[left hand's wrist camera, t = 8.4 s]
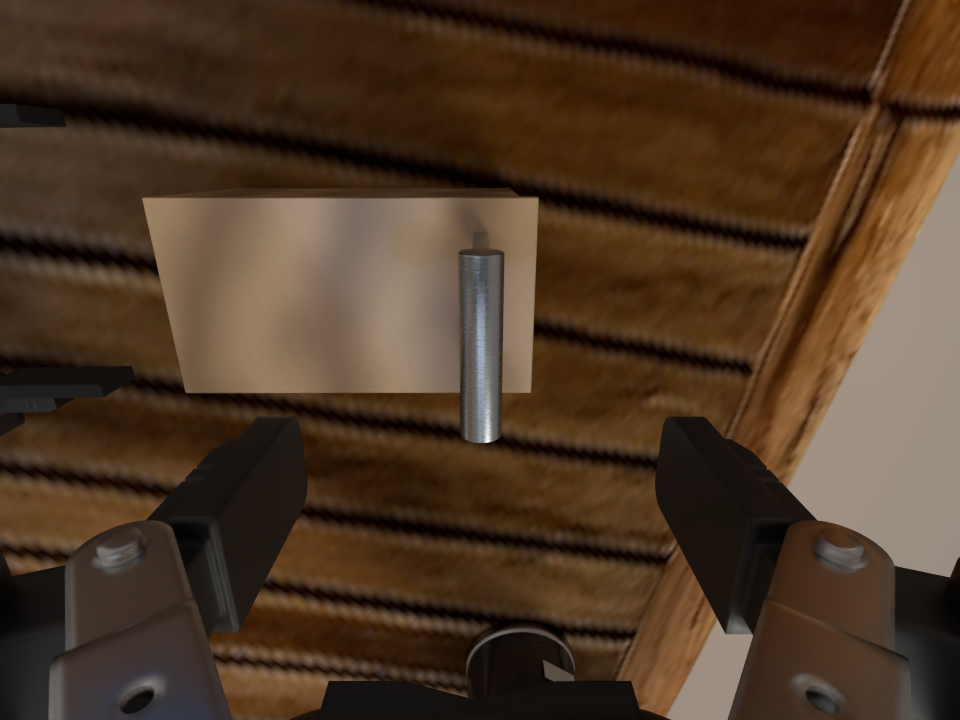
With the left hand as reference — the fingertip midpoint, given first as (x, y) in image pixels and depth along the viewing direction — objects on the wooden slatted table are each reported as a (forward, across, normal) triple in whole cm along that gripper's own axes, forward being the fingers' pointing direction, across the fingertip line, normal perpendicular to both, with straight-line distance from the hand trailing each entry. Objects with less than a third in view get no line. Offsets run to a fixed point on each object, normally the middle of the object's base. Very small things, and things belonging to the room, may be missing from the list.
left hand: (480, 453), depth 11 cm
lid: (+14, +6, 0) cm, 15 cm away
